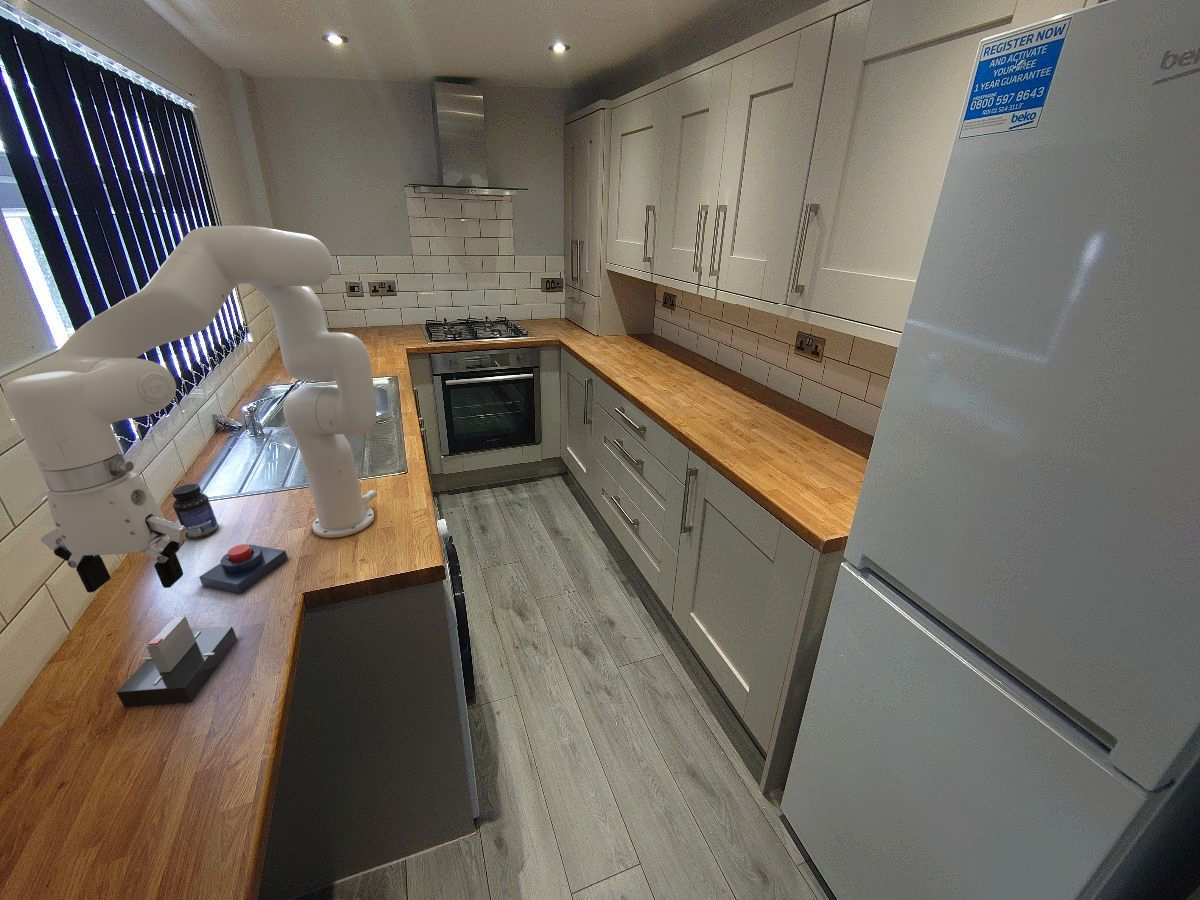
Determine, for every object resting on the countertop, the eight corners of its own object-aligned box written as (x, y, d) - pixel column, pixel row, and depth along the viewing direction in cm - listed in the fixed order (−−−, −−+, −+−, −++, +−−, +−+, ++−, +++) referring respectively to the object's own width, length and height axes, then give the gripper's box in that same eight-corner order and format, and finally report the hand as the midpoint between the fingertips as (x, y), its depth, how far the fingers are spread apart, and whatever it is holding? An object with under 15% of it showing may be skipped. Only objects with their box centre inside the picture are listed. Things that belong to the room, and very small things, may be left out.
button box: (252, 553, 108) (246, 536, 106) (288, 559, 105) (283, 542, 104) (202, 586, 98) (195, 569, 96) (240, 594, 96) (234, 576, 94)
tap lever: (185, 642, 81) (173, 615, 79) (196, 641, 81) (185, 614, 79) (158, 672, 75) (145, 645, 73) (170, 672, 75) (157, 644, 73)
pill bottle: (226, 527, 117) (210, 483, 112) (199, 542, 111) (181, 497, 107) (205, 523, 119) (189, 480, 114) (178, 538, 113) (160, 493, 109)
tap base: (176, 644, 84) (169, 629, 83) (241, 640, 85) (236, 625, 84) (119, 708, 73) (110, 691, 72) (195, 702, 74) (188, 686, 73)
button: (242, 550, 102) (239, 542, 101) (256, 553, 101) (254, 545, 101) (225, 561, 99) (222, 553, 98) (240, 563, 98) (238, 556, 97)
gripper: (179, 456, 69) (218, 564, 76) (40, 462, 68) (92, 571, 75) (138, 481, 62) (185, 597, 69) (-18, 489, 61) (46, 606, 68)
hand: (137, 583), depth 72 cm, fingers open, 9 cm apart
